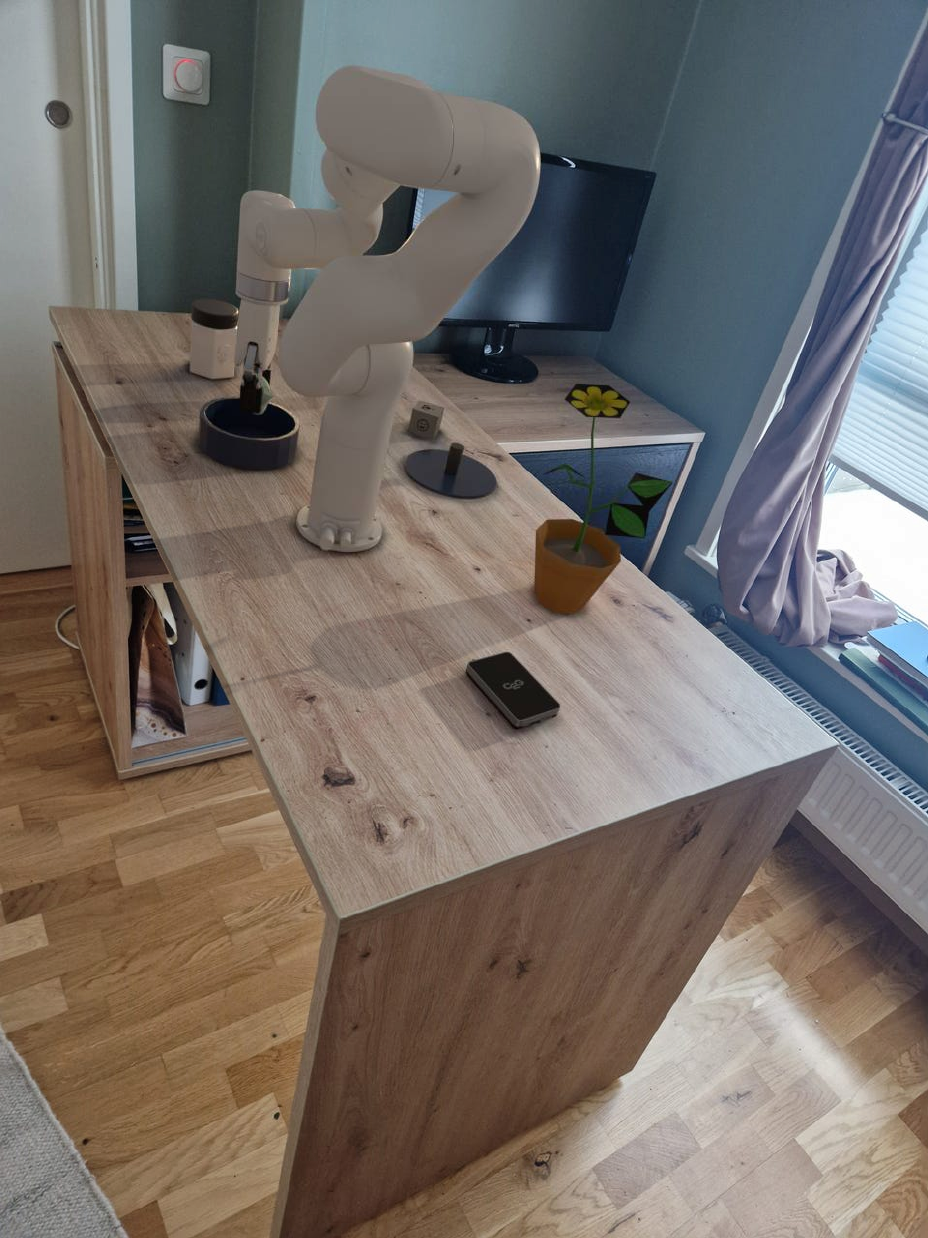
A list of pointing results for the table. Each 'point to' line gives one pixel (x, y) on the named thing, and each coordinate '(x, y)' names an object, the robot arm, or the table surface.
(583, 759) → the table surface
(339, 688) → the table surface
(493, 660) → the external hard drive
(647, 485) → the potted plant
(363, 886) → the table surface
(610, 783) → the table surface
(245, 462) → the tin
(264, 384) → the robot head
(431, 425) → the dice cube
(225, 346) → the jar
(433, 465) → the lid
